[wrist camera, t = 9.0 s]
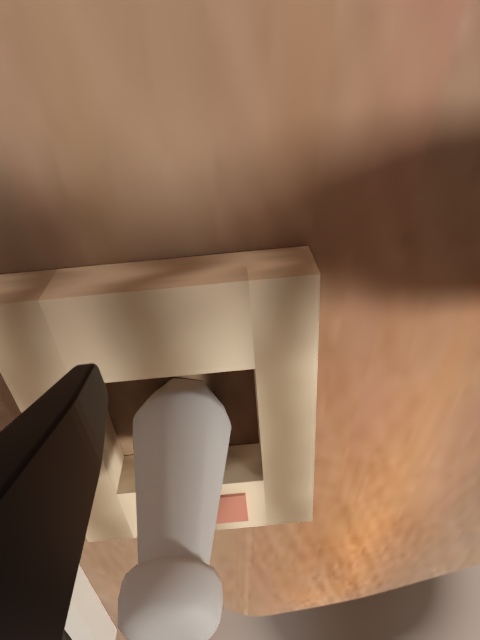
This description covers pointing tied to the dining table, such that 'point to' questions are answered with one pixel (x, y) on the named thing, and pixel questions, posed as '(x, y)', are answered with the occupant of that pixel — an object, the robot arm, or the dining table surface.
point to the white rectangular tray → (87, 613)
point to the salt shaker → (176, 514)
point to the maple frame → (182, 362)
